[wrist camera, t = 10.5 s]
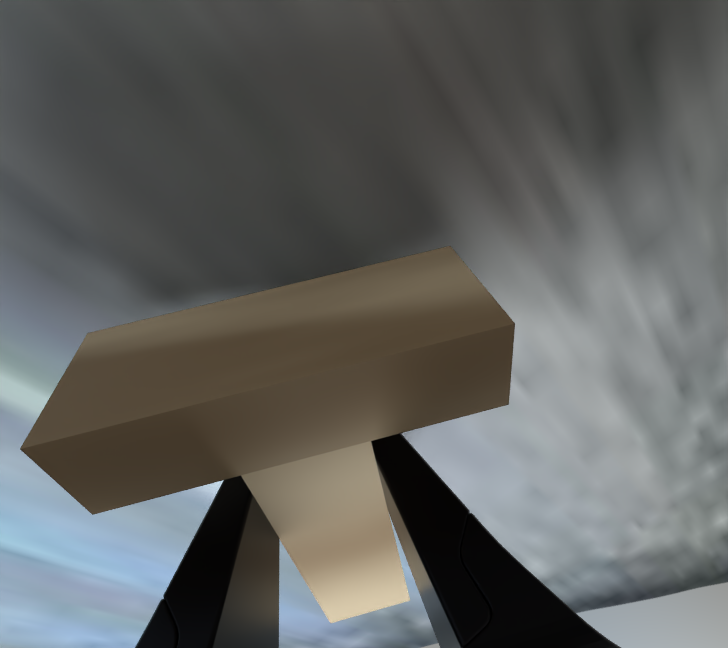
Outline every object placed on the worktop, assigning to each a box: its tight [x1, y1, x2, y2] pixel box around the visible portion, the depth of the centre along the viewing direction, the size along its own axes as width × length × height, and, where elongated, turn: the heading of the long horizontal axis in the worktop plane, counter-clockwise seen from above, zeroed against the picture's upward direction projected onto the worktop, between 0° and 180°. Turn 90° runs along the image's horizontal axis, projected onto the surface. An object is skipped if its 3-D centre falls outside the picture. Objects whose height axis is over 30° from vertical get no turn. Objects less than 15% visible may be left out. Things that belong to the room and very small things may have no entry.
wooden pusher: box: [20, 246, 515, 623], centre depth 11 cm, size 10×8×3 cm
